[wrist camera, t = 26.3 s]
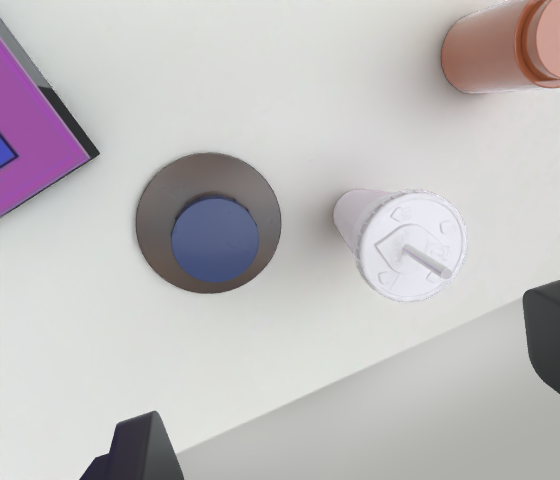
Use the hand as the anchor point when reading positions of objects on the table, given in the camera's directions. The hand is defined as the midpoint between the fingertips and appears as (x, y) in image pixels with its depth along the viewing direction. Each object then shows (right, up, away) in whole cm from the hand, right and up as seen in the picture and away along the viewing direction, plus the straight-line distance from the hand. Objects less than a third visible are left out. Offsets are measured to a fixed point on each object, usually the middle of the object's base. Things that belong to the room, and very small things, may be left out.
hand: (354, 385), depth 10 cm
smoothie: (+4, +5, +25) cm, 26 cm away
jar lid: (-6, +3, +22) cm, 23 cm away
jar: (+12, +16, +24) cm, 31 cm away
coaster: (-6, +4, +24) cm, 25 cm away
